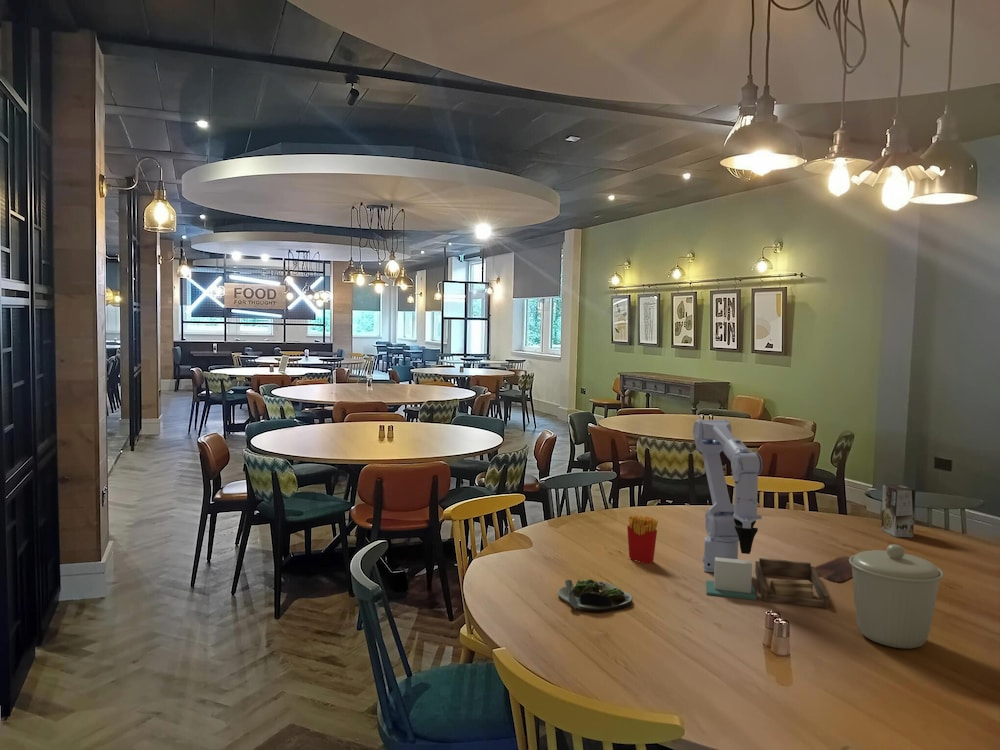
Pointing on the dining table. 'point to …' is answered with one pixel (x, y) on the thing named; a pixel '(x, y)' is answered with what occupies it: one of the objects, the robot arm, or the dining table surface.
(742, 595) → the mat
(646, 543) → the french fries
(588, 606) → the salad plate
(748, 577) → the grey sheet
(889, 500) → the coffee box
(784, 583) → the offcut block large
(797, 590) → the offcut block small
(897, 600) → the canister
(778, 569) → the rack
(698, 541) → the dining table surface
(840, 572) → the wooden tablet
